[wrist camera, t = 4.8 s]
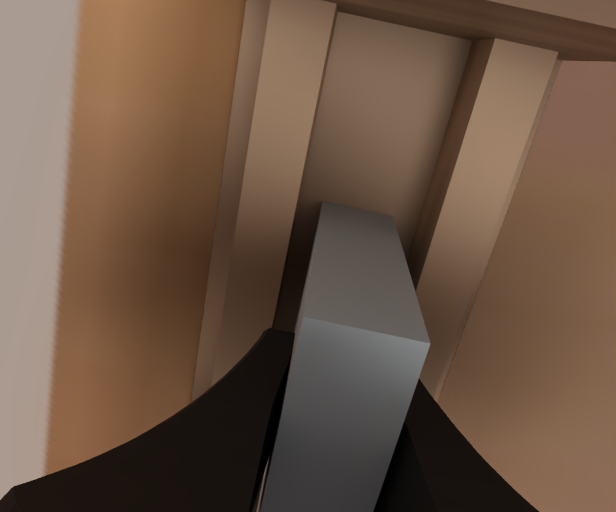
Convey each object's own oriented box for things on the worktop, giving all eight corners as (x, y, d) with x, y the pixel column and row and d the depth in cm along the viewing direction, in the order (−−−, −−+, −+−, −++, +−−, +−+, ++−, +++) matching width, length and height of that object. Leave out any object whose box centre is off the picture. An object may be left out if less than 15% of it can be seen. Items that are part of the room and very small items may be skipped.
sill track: (392, 498, 17) (420, 759, 11) (188, 455, 17) (94, 692, 11) (582, -37, 11) (900, -161, 5) (268, -106, 11) (162, -325, 5)
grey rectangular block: (332, 434, 15) (324, 654, 10) (274, 422, 15) (232, 634, 10) (393, 216, 13) (430, 344, 7) (322, 201, 13) (303, 316, 7)
